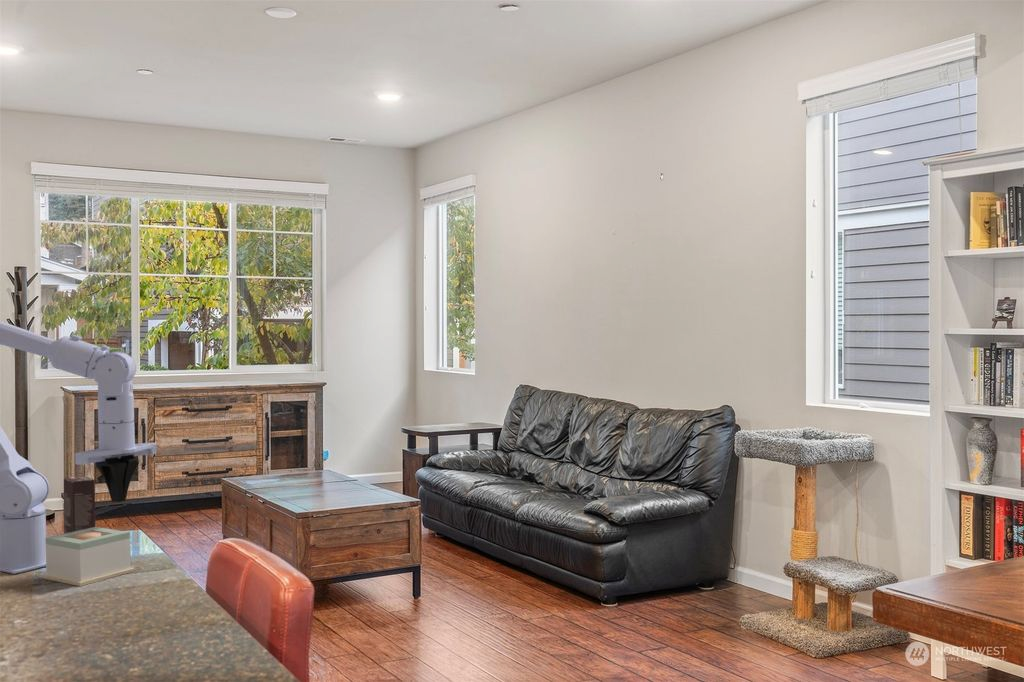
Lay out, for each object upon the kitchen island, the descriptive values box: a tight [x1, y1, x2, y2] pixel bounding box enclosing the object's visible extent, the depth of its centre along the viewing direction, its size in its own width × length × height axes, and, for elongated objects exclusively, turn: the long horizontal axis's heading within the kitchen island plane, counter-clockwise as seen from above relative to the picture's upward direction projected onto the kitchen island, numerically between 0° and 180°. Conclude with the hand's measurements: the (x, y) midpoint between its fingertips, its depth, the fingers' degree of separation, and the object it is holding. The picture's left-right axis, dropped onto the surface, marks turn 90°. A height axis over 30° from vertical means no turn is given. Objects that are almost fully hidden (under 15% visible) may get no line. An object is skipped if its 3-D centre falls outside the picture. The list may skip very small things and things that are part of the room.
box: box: [63, 476, 96, 534], centre depth 177 cm, size 6×4×12 cm
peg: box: [74, 532, 101, 540], centre depth 153 cm, size 4×4×6 cm
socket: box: [41, 526, 136, 587], centre depth 153 cm, size 10×10×6 cm
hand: (118, 501), depth 161 cm, fingers closed
